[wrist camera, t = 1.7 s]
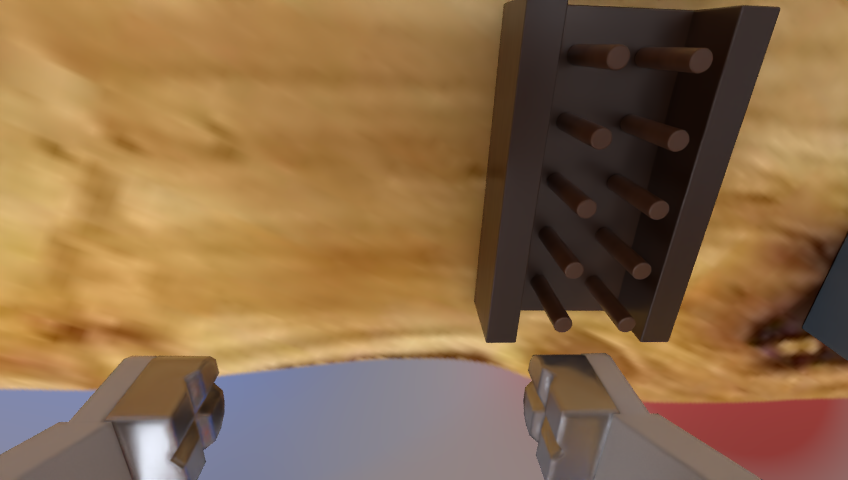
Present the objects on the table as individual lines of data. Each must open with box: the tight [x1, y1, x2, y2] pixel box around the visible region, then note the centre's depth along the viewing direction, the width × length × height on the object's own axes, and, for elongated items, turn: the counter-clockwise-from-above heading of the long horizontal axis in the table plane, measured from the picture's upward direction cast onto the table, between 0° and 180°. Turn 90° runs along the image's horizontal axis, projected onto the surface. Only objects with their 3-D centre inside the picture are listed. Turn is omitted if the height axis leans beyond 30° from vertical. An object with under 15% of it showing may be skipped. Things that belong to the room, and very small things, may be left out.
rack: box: [474, 0, 780, 343], centre depth 21 cm, size 10×16×5 cm, turn 178°
